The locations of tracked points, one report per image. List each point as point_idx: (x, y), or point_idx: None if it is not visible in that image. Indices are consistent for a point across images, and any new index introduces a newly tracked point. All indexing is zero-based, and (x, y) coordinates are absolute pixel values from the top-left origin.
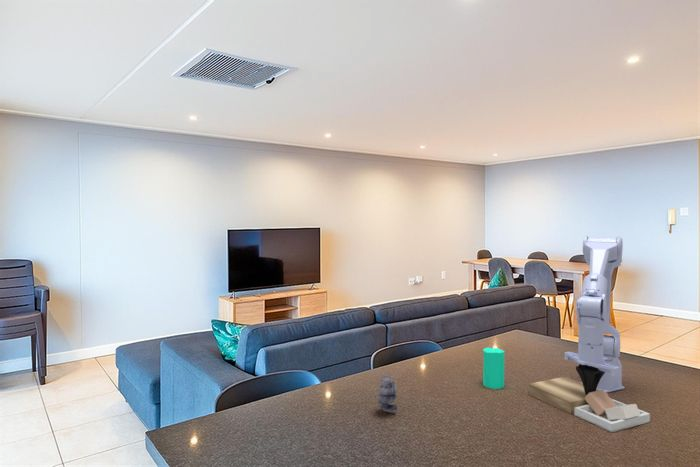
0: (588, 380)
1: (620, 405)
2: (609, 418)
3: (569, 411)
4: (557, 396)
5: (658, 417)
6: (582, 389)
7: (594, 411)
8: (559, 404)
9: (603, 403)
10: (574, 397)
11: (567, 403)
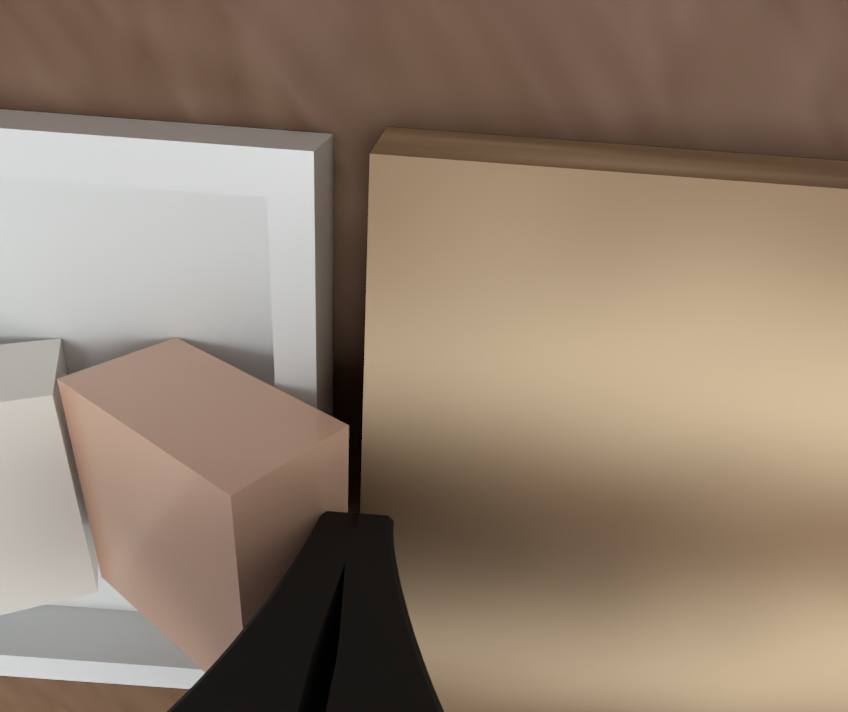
0: (224, 707)
1: (56, 595)
2: (33, 345)
3: (401, 131)
4: (646, 171)
5: (41, 707)
6: (577, 651)
7: None
8: (578, 149)
9: (116, 481)
10: (469, 373)
11: (434, 149)
